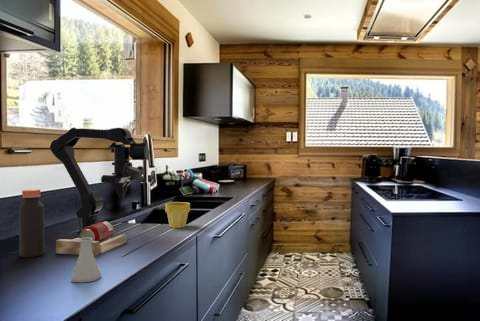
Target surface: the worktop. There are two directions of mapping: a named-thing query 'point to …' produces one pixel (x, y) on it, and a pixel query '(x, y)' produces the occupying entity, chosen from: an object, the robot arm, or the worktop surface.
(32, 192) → the bottle
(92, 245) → the rest
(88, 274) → the flask
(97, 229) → the soda can
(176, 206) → the plant pot
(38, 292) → the worktop surface
